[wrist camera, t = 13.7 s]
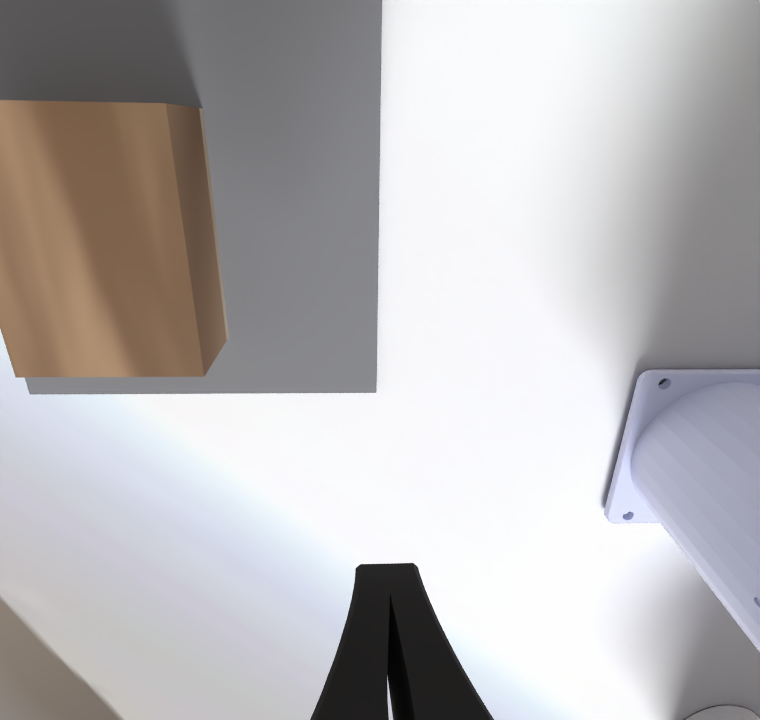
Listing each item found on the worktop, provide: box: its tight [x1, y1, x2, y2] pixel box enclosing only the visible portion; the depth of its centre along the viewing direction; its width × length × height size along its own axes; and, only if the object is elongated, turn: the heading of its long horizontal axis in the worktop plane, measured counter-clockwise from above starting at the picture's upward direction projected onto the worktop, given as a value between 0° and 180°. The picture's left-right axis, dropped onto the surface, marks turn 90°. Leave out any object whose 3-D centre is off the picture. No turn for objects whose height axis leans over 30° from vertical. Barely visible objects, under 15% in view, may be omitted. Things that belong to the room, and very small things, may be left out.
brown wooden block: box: [0, 100, 229, 377], centre depth 16 cm, size 4×8×6 cm
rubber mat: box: [0, 0, 382, 394], centre depth 18 cm, size 14×14×1 cm
